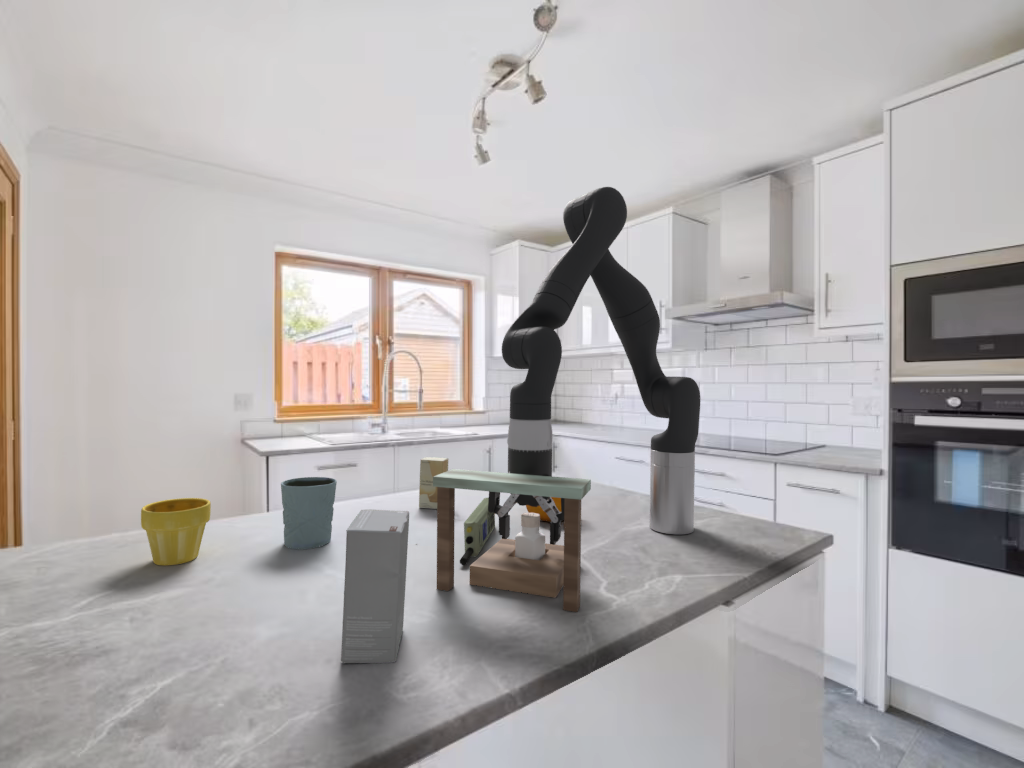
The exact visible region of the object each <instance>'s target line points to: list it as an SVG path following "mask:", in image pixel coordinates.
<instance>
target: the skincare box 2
mask: <svg viewBox="0 0 1024 768" xmlns="http://www.w3.org/2000/svg"><path fill="white" fill-rule="evenodd" d="M447 471H449V458H448V457H447V458H446V457H433V456H426V457H423V458H421V459H420V465H419V491H418V493H419V494H418V495H419V496H418V508H419V509H433V510H437V487H434V486H433V476H436V475H439V474H441V473H444V472H447Z"/></svg>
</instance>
